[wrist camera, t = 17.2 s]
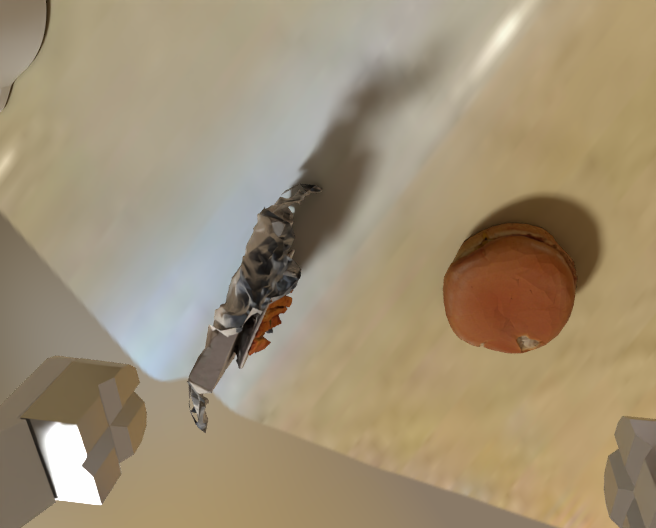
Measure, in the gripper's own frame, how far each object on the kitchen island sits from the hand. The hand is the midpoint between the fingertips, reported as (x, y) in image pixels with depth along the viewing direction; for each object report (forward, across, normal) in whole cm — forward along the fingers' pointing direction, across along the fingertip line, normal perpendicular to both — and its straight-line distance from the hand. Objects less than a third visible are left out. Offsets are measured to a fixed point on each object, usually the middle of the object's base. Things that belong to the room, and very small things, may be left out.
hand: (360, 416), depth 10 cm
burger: (+34, -7, +16) cm, 38 cm away
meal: (+33, +11, +15) cm, 38 cm away
